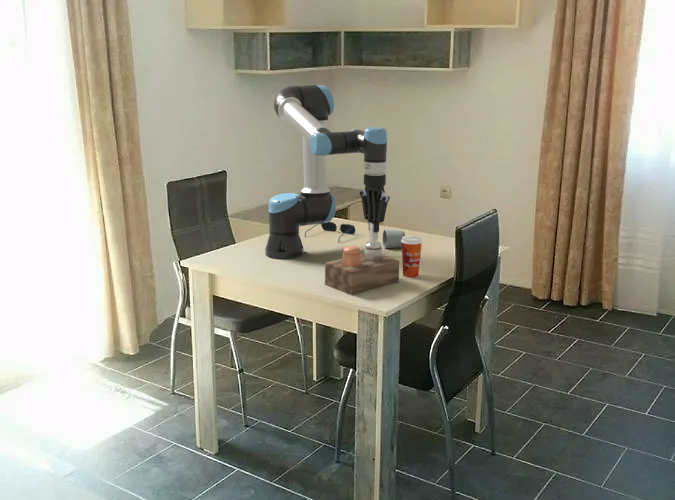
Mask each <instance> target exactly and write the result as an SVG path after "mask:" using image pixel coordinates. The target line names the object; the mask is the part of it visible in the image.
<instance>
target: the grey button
mask: <svg viewBox="0 0 675 500" xmlns="http://www.w3.org/2000/svg"><path fill="white" fill-rule="evenodd" d="M364 246H365V247H364V249H363V250H364V253H363V254H364V259H366V260H369V261H372V262H374V261H378V260H382V255H383V247H382V243H381V242H379V241H374V242H371V241H367V242H365V245H364Z"/></svg>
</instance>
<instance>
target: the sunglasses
mask: <svg viewBox="0 0 675 500" xmlns="http://www.w3.org/2000/svg"><path fill="white" fill-rule="evenodd" d="M318 225H319V224H314V225H312V227H311V228H309V229H308V230H305V233H304V237H305V238H307V232H308V231H310V230H312V229H313V228H315V227H317V226H318ZM320 225H321V228H322V229H323V230H324V231H328V232H337V229H339V231H340V232H341V233H342V234H341V235H339V237H338V241H337V242H338V243H340V238H341V237H343V236H345V234H346V235H354V234H356V227H355V226H354V225H353V224H351V223H341V224H340V225H339V226H337V224H336V222H332V221H330V222H327V223H322V224H320ZM338 227H339V228H338Z"/></svg>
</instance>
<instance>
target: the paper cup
mask: <svg viewBox="0 0 675 500" xmlns="http://www.w3.org/2000/svg"><path fill="white" fill-rule="evenodd" d="M401 242H402V247H401V258H402V259H401V261H402V263H401V264H402V265H401V266H402V275H403V276H402V277H405V278H412V279H413V278H417V277H419V273H420V265H421V264H420V263H421V254H422V253H421V252H422V251H421V250H422V244H423V239H422V237H420V236H417V235H405V236H404V237H403V238H402V240H401Z"/></svg>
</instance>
